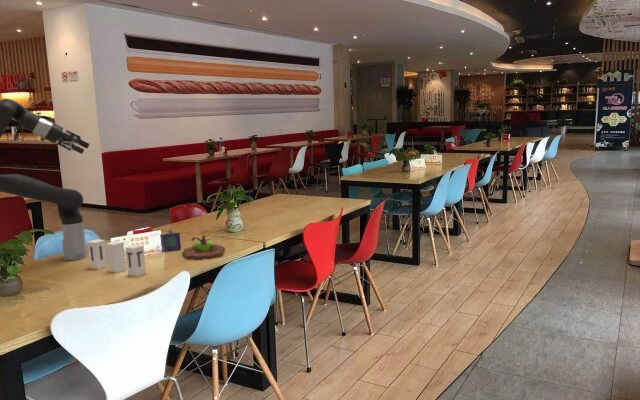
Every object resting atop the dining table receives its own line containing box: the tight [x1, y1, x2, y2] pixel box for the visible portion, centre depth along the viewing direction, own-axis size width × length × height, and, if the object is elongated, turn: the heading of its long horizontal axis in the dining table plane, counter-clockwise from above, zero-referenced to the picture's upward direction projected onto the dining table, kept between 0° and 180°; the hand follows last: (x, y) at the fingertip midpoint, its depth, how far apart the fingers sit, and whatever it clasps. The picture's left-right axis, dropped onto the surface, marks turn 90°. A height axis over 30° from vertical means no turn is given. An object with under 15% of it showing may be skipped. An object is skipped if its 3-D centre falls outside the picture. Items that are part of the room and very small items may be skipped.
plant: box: [181, 232, 226, 261], centre depth 248 cm, size 20×20×11 cm
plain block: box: [105, 240, 127, 274], centre depth 221 cm, size 5×5×12 cm
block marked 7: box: [124, 244, 147, 277], centre depth 215 cm, size 5×5×12 cm
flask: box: [159, 228, 182, 253], centre depth 257 cm, size 9×3×11 cm, turn 109°
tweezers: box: [192, 238, 212, 245], centre depth 275 cm, size 18×5×2 cm, turn 156°
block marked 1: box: [86, 238, 108, 270], centre depth 227 cm, size 5×5×12 cm
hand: (85, 149), depth 224 cm, fingers open, 8 cm apart
